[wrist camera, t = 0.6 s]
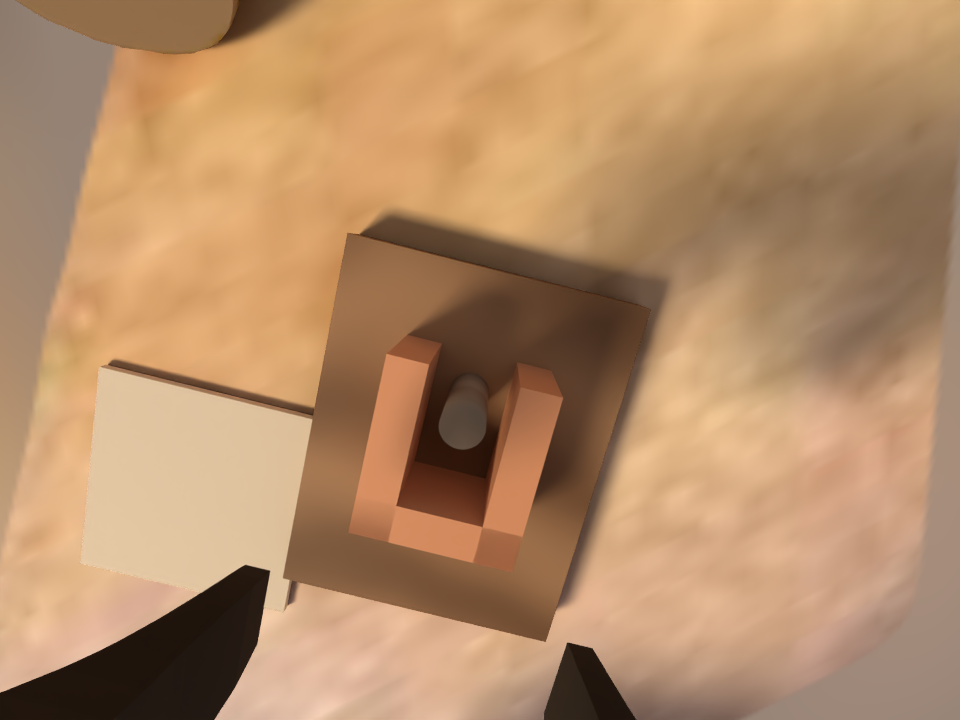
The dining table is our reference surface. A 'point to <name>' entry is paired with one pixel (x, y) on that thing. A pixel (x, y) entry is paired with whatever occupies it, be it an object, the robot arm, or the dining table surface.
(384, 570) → the stand
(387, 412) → the c link
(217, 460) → the felt mat
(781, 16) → the dining table surface
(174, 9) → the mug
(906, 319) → the dining table surface
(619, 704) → the robot arm
